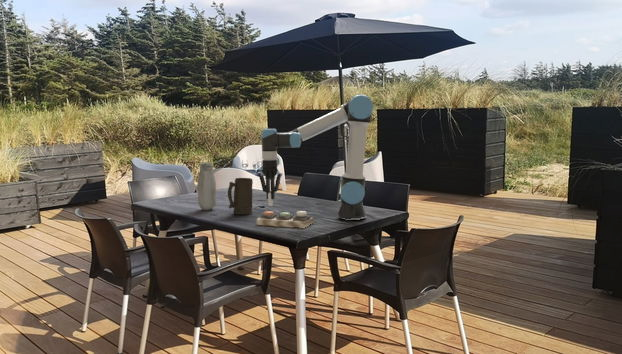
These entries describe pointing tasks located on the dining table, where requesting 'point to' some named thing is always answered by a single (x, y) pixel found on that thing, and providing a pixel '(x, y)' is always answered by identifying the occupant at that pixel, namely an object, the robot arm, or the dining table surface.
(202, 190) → the glass bottle
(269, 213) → the terracotta button
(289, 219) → the button panel
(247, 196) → the beer stein
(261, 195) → the dining table surface
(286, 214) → the sage button
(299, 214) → the cream button
